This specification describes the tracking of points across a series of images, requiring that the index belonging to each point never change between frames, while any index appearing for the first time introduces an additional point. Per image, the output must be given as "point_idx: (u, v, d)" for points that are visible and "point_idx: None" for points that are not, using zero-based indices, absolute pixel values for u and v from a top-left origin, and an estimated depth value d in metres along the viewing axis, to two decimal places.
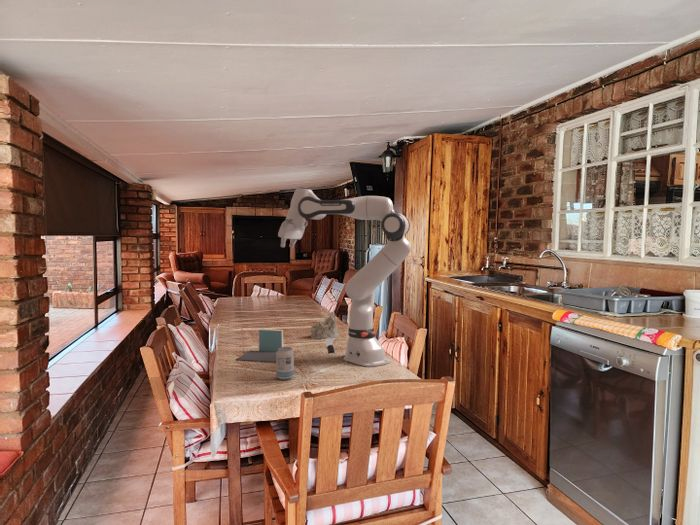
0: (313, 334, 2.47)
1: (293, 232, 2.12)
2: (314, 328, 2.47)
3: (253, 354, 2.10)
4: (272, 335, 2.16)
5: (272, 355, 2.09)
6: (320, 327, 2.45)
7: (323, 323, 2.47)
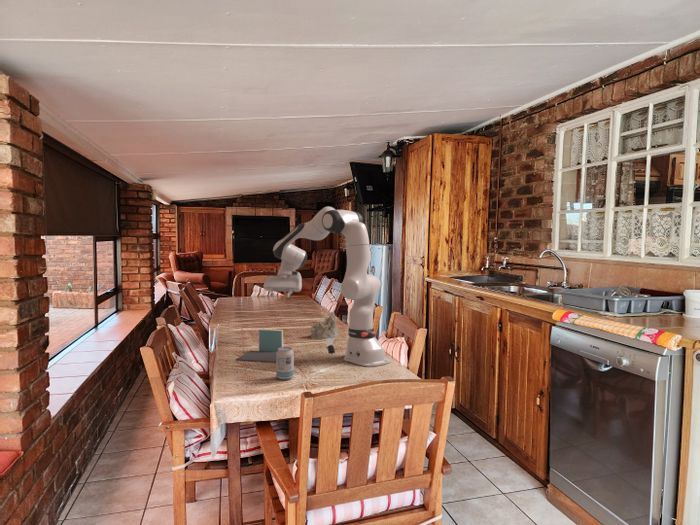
0: (313, 334, 2.47)
1: (279, 282, 2.33)
2: (314, 328, 2.47)
3: (253, 354, 2.10)
4: (272, 335, 2.16)
5: (272, 355, 2.09)
6: (320, 327, 2.45)
7: (323, 323, 2.47)
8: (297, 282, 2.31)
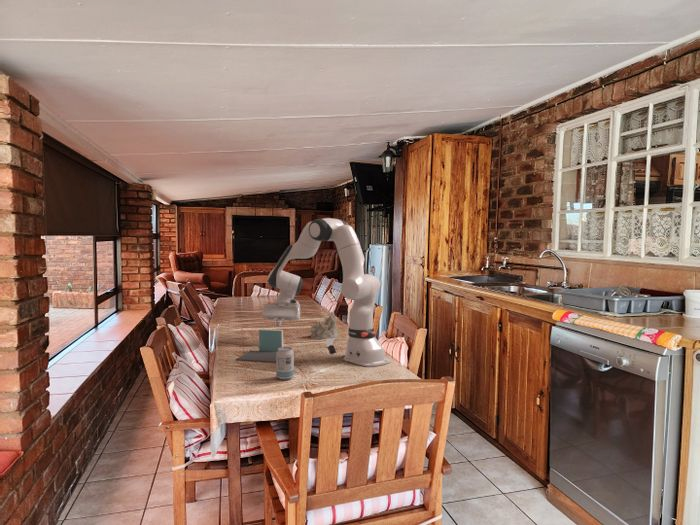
0: (313, 334, 2.47)
1: (277, 310, 2.31)
2: (314, 328, 2.47)
3: (253, 354, 2.10)
4: (272, 335, 2.16)
5: (272, 355, 2.09)
6: (320, 327, 2.45)
7: (323, 323, 2.47)
8: (295, 311, 2.29)
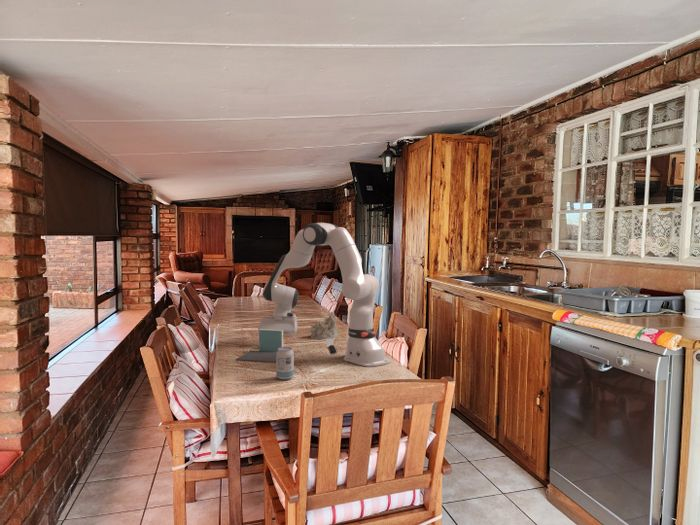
0: (313, 334, 2.46)
1: (274, 324, 2.26)
2: (314, 328, 2.47)
3: (253, 354, 2.10)
4: (272, 335, 2.16)
5: (272, 355, 2.09)
6: (320, 327, 2.45)
7: (323, 323, 2.47)
8: (292, 324, 2.24)
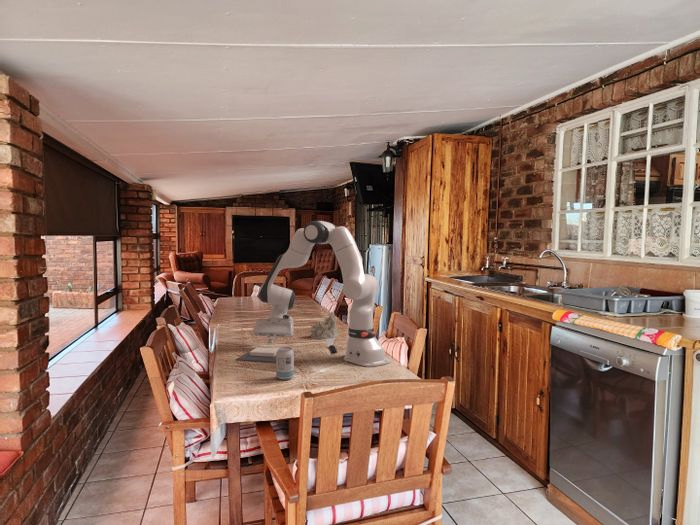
0: (313, 334, 2.46)
1: (270, 326, 2.20)
2: (314, 328, 2.47)
3: None
4: None
5: None
6: (320, 327, 2.45)
7: (323, 323, 2.47)
8: (288, 327, 2.18)
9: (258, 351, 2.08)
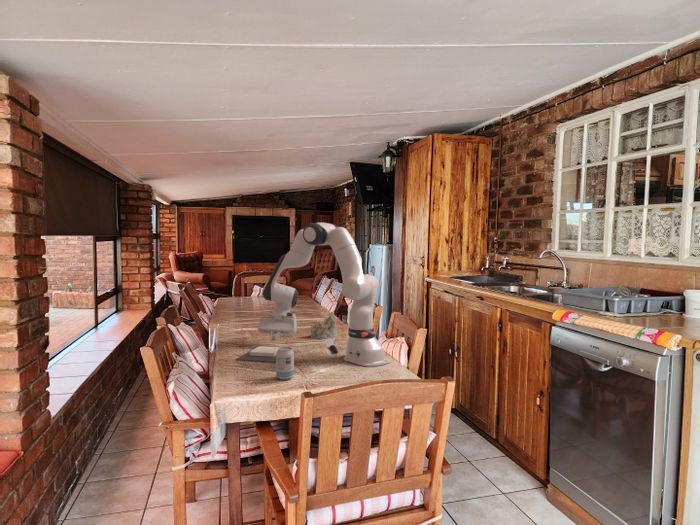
0: (313, 334, 2.47)
1: (274, 324, 2.26)
2: (314, 328, 2.47)
3: None
4: None
5: None
6: (320, 327, 2.45)
7: (323, 323, 2.47)
8: (292, 324, 2.24)
9: (258, 351, 2.08)
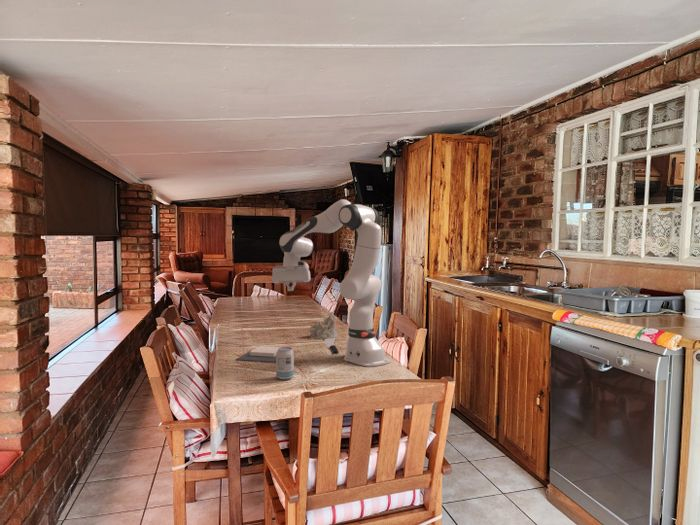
0: (312, 334, 2.47)
1: (287, 274, 2.29)
2: (313, 328, 2.47)
3: None
4: None
5: None
6: (319, 327, 2.46)
7: (322, 323, 2.48)
8: (305, 273, 2.27)
9: (258, 351, 2.08)
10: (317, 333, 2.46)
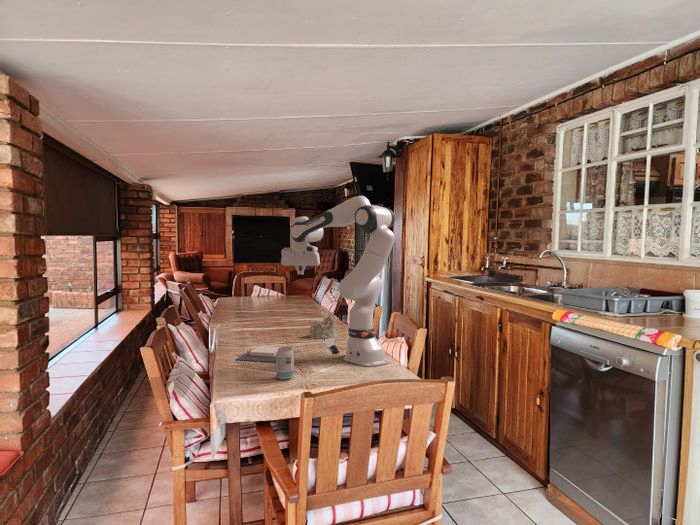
0: (312, 334, 2.47)
1: (296, 259, 2.28)
2: (313, 328, 2.47)
3: None
4: None
5: None
6: (319, 327, 2.46)
7: (322, 323, 2.48)
8: (314, 259, 2.26)
9: (258, 351, 2.08)
10: (317, 333, 2.46)
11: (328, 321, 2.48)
